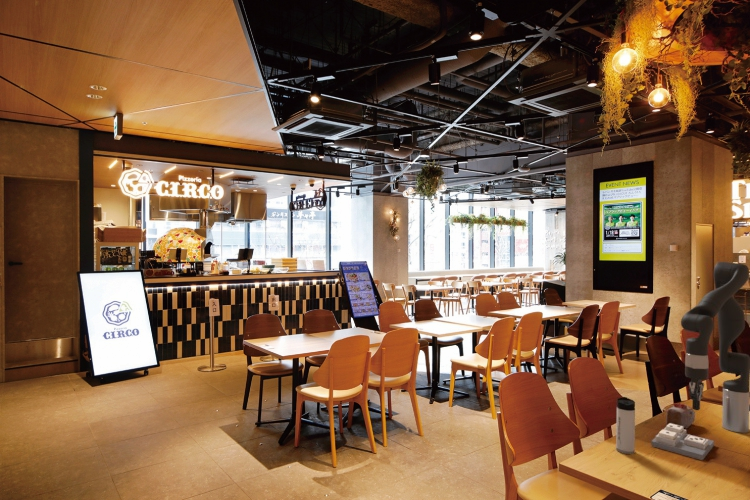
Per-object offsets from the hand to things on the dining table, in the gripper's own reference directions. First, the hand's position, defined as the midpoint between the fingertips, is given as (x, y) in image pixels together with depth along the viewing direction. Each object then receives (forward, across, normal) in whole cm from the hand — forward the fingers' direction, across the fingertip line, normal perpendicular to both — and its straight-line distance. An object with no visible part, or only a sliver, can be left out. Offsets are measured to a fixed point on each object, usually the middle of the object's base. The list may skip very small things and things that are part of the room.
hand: (696, 409), depth 183 cm
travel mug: (+16, +22, -18) cm, 33 cm away
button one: (+12, +5, -8) cm, 16 cm away
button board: (+16, 0, -4) cm, 16 cm away
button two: (+12, -5, -8) cm, 16 cm away
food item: (+16, -24, -11) cm, 31 cm away
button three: (+14, 0, 0) cm, 14 cm away
